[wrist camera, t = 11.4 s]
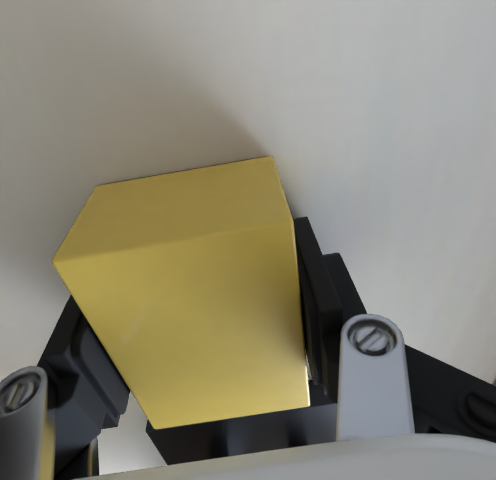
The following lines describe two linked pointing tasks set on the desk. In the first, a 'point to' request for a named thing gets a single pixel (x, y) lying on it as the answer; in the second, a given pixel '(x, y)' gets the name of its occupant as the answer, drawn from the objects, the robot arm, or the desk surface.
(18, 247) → the desk surface
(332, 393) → the robot arm
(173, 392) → the butter
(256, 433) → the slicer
